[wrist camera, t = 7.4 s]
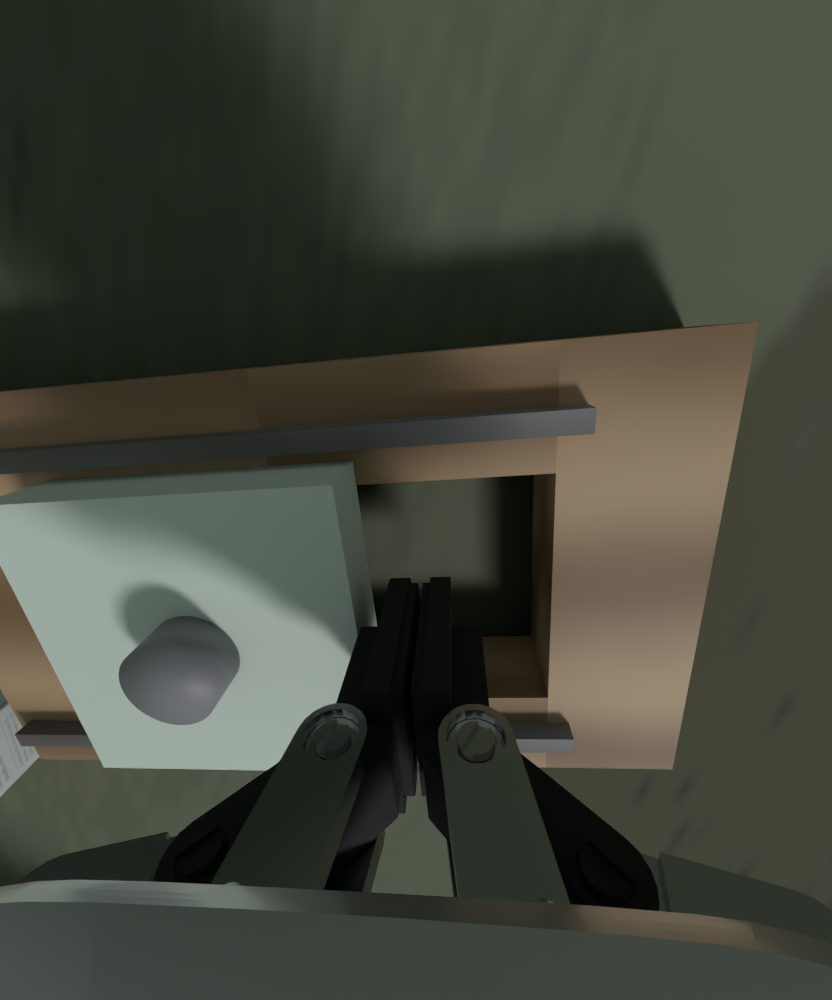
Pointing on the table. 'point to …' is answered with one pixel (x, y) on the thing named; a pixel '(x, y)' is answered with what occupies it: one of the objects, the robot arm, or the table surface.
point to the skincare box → (12, 748)
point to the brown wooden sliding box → (458, 455)
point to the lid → (193, 605)
